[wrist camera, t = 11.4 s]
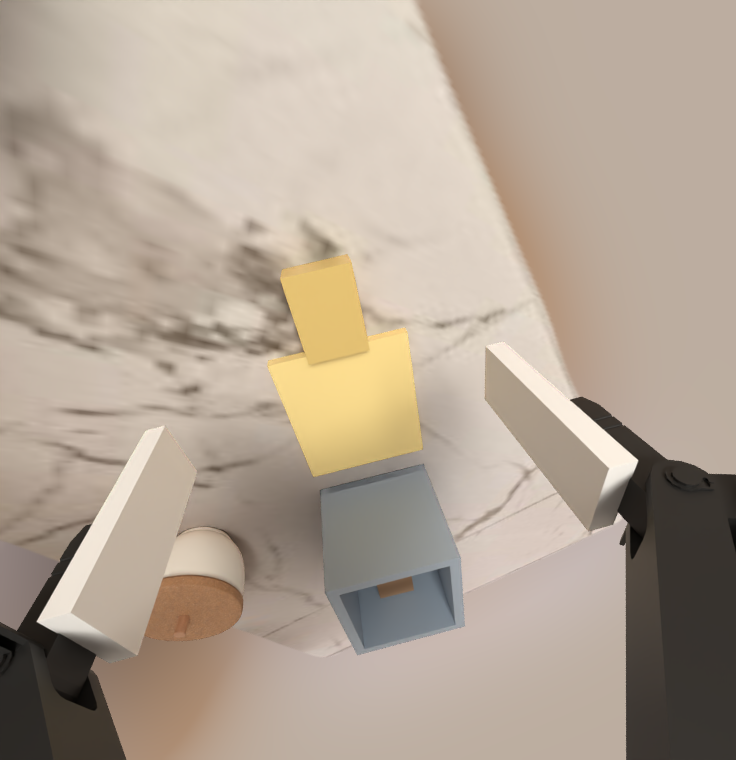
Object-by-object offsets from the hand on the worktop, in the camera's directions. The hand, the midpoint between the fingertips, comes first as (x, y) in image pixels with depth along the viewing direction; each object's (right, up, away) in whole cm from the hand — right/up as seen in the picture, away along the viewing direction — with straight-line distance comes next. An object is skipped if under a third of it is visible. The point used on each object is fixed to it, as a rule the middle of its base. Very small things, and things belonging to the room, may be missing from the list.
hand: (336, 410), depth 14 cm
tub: (+3, -15, +28) cm, 32 cm away
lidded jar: (-18, -18, +26) cm, 36 cm away
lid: (-1, +1, +17) cm, 17 cm away
